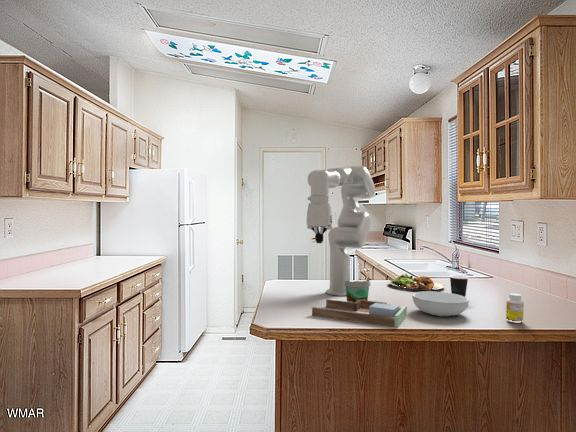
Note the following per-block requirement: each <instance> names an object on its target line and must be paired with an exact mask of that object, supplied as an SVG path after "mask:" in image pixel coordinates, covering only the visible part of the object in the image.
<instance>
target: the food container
mask: <svg viewBox="0 0 576 432" xmlns="http://www.w3.org/2000/svg"><path fill="white" fill-rule="evenodd" d="M344 286H346V302H354V303H355V302H356V301H358V300H366V301H369V299H368V298H369V290H370V286H372V285H371V281H370V279H368V278H366V280H364V281H363V280H361V281H360V280H355V281H351V280H350V281H346V282H345V285H344Z"/></svg>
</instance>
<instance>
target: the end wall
mask: <svg viewBox="0 0 576 432" xmlns="http://www.w3.org/2000/svg"><path fill="white" fill-rule="evenodd" d="M400 308H401V309H400V310H399V311H398V312H397V314H396V315H395V328H399V327H400V326H401V324H402V323H403V322H404V320H405V319H406V318H407V317H408V316H407V313H408V306H407V305H403V306H402V307H400ZM406 316H407V317H406ZM405 317H406V318H405ZM404 318H405V319H404ZM402 321H403V322H402ZM401 322H402V323H401Z"/></svg>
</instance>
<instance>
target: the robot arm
mask: <svg viewBox="0 0 576 432" xmlns="http://www.w3.org/2000/svg"><path fill="white" fill-rule="evenodd" d="M307 184H308V185H309V186H310V195H309V196H307V201H309V203H308V204H307V212H306V225H307V226H306V227H307V229H308V230H312V231H313V233H314V234H315V242H316V244H323V242H324V234H325V233H326V232H327V231H328V230H329V231H328V244H329V245H328V246H329V288H328V289H326V291H325V293H326V294H327V295H330V296H337V297H345V296H346V286H344V285H345V282H346V281H350V282H351V280H350V279H351V255H350V253H349V251H348V249H351V248H352V249H360V248H363V247H364V245H365V244H366V241H367V238H368V235H369V231H370V228H371V225H372V224H371V223H372V222H371V221H372V220H371V219H372V218H371V216H370V214H369V213H368V212H366V211H360V210H361V207H360V205H359V203H358V202H357V200H355V199H366V198H367V199H368V198H369V199H370V198H372V197H374V195H375V193H376V187H375V184H374V181H373V177H372V176H371V174H370V171H369V170H368V169H367V167H366V166H364V165H360V166H359V165H358V166H356V165H355V166H354V165H352V166H342V167H333V168H328V169H315V170H312V171H310V172H309V174H308V175H307ZM340 186H341V187H340ZM336 187H337V188H338V187H340V193H341V199H342V200H341V201H342V204H343V205H342V209H341V211H340V214H339V216H338V217H337V218H338V219H337V226H334V227H332V225H333V216H332V207H331V203H330V202H329V197H330V196H329V194H330V193H329V189H333V188H336ZM346 297H347V296H346Z"/></svg>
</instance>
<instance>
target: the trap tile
mask: <svg viewBox="0 0 576 432" xmlns="http://www.w3.org/2000/svg"><path fill="white" fill-rule="evenodd" d="M363 311H365V313H369V308H360V309H359V310H357V312H363Z"/></svg>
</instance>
